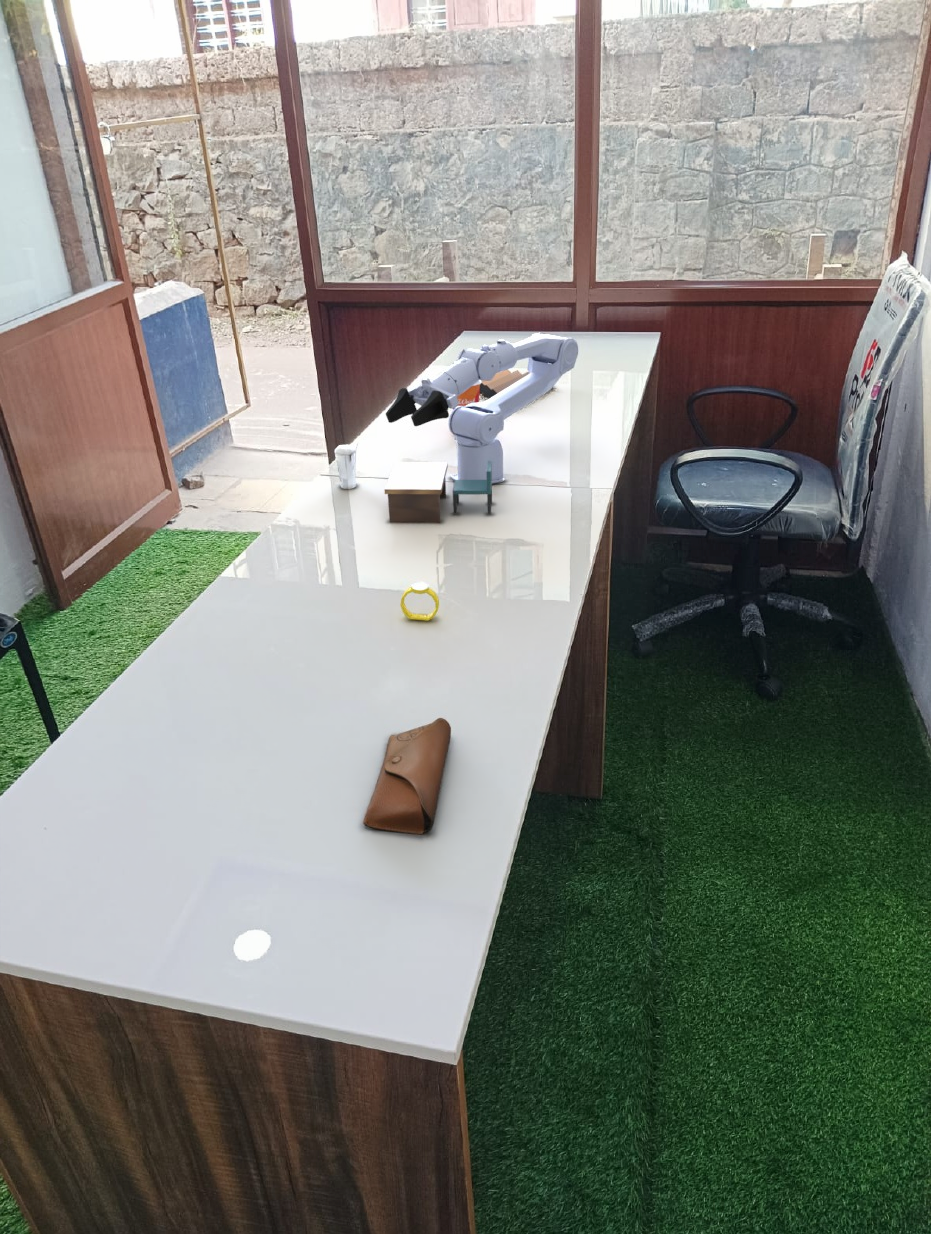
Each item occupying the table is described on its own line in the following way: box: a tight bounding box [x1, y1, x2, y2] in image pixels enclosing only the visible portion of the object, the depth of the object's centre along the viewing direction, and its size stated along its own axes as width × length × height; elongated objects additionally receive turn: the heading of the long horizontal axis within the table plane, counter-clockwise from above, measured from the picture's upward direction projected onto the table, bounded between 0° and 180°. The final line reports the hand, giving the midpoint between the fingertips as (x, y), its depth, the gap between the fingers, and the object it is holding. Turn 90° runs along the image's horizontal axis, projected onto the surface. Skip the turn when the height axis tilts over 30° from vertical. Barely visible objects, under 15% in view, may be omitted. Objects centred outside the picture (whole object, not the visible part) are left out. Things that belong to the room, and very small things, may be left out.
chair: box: [452, 461, 493, 515], centre depth 183 cm, size 8×6×9 cm
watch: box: [400, 581, 440, 622], centre depth 145 cm, size 6×3×6 cm, turn 84°
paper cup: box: [452, 380, 482, 411], centre depth 224 cm, size 8×8×14 cm
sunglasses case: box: [362, 717, 452, 835], centre depth 111 cm, size 18×7×7 cm
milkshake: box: [334, 442, 360, 490], centre depth 195 cm, size 4×5×10 cm
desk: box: [384, 461, 449, 524], centre depth 184 cm, size 11×15×7 cm
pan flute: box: [479, 369, 555, 399], centre depth 257 cm, size 25×3×25 cm
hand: (400, 419), depth 177 cm, fingers open, 7 cm apart
